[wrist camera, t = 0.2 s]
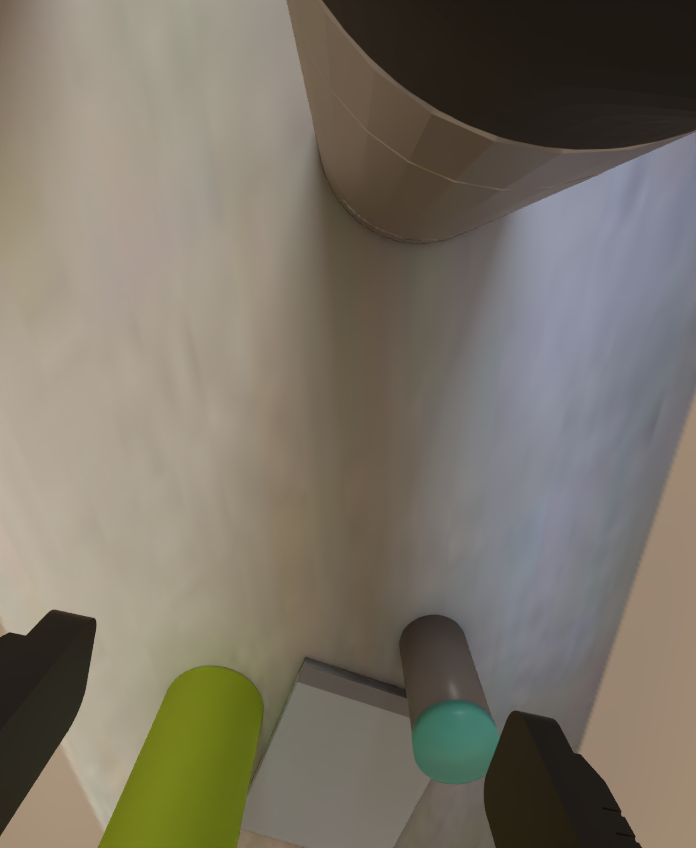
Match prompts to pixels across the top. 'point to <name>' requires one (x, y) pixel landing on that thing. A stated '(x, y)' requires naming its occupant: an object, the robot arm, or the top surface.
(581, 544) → the top surface
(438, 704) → the marker
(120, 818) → the soap dispenser
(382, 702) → the notepad
